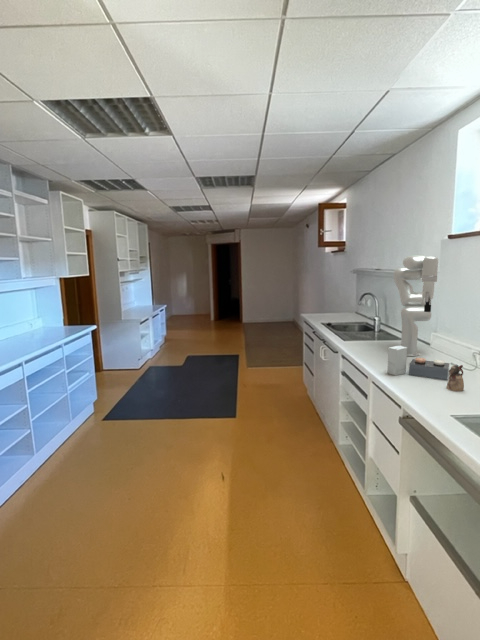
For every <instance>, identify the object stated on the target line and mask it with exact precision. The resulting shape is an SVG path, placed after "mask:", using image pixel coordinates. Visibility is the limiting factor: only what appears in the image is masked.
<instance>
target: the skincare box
mask: <svg viewBox="0 0 480 640" xmlns="http://www.w3.org/2000/svg"><path fill="white" fill-rule="evenodd" d="M387 351H388V352H387V374H389V375H391V376H395V377H397V376H400V375H405V374H406V373H407V358H408V356H407V348H406V347H403V346H401V345H395V346H391V347H388V350H387Z"/></svg>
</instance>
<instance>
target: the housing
mask: <svg viewBox="0 0 480 640" xmlns="http://www.w3.org/2000/svg"><path fill="white" fill-rule="evenodd" d="M408 365H409V366H408V368H409V369H408V375H409V376H414V377H422V378H429V379H436V380H443V381H448V380H449V376H450V375H449V370H450V363H449V362H445V364H444V365H443V367H442V366H435V364H434V360H433V361H432V360H426V361H425V363H424V364H418V363H417V362H415V358H413V359H412V360H411V361H410V362H409V364H408Z"/></svg>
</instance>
